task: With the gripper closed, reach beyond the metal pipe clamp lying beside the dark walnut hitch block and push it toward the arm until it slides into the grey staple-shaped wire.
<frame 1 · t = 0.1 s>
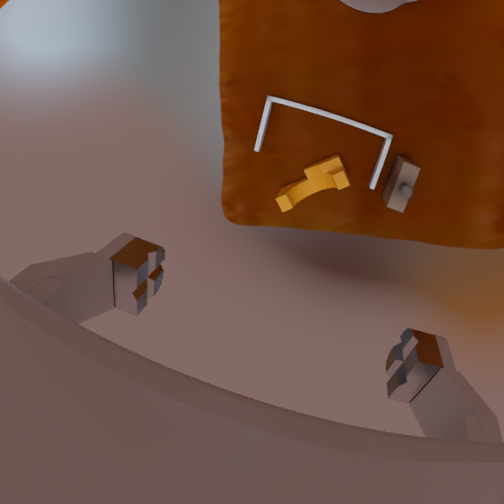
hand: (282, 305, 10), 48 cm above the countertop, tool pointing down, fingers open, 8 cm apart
pipe clamp: (312, 177, 55), on the countertop
grey staple-shaped wire: (323, 139, 51), on the countertop
hitch block: (397, 178, 51), on the countertop
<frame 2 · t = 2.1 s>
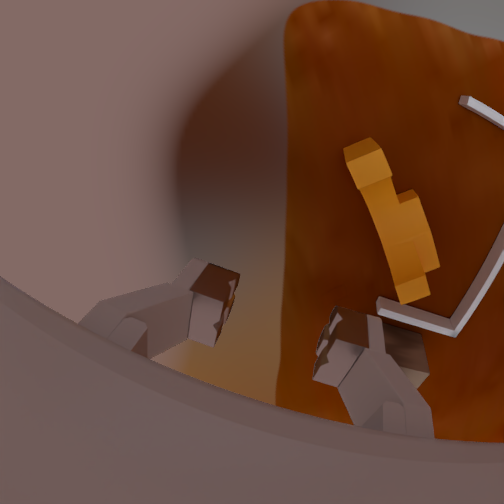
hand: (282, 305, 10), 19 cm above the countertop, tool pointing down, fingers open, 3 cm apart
pipe clamp: (391, 200, 26), on the countertop
grey staple-shaped wire: (464, 226, 25), on the countertop
hitch block: (385, 335, 32), on the countertop
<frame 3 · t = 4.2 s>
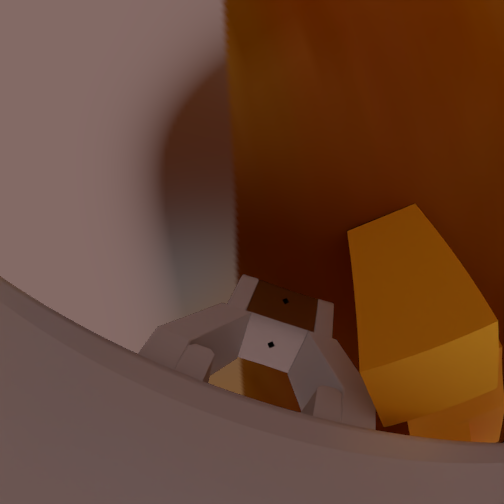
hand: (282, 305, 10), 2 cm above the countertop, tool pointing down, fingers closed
pipe clamp: (438, 332, 12), on the countertop, touching gripper
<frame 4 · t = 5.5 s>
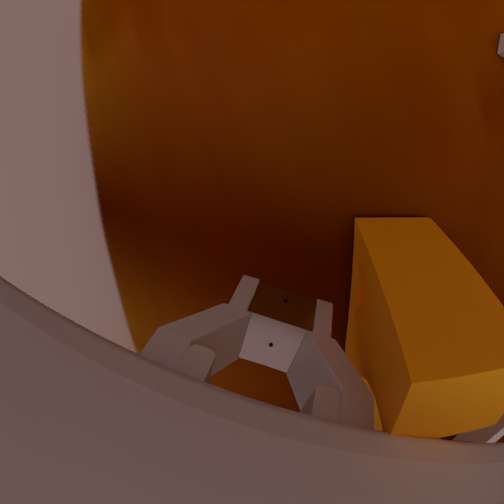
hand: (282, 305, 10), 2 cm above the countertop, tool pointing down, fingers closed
pipe clamp: (393, 351, 12), on the countertop, touching gripper
grey staple-shaped wire: (487, 337, 11), on the countertop
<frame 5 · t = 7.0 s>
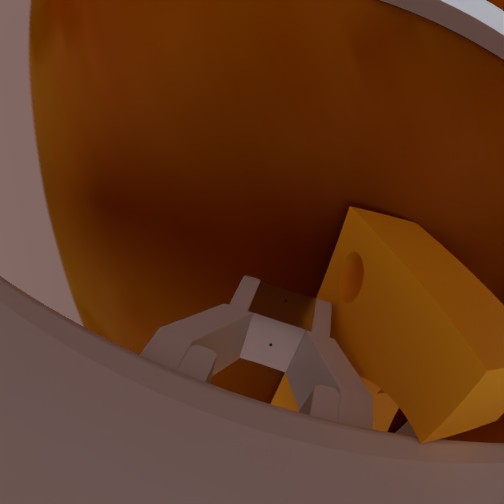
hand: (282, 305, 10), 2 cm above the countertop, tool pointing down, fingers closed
pipe clamp: (341, 352, 12), point 1 cm above the countertop, touching gripper
grey staple-shaped wire: (409, 309, 11), on the countertop
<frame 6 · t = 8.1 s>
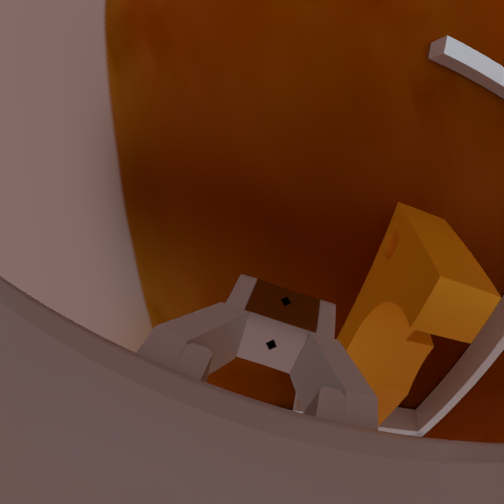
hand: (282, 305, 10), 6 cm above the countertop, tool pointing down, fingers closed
pipe clamp: (388, 312, 16), on the countertop
grey staple-shaped wire: (444, 288, 14), on the countertop
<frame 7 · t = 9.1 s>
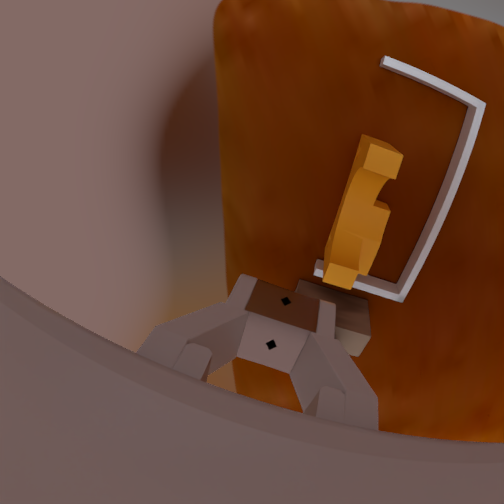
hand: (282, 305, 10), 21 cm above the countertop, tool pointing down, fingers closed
pipe clamp: (364, 199, 29), on the countertop
grey staple-shaped wire: (398, 185, 27), on the countertop
hitch block: (329, 300, 35), on the countertop
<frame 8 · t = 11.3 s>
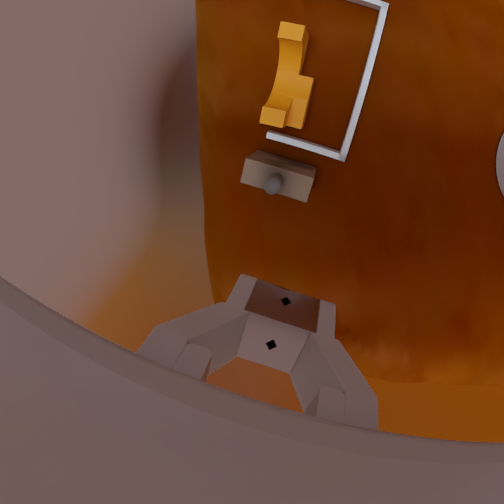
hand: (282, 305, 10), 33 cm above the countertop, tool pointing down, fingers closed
pipe clamp: (296, 78, 35), on the countertop
grey staple-shaped wire: (328, 67, 33), on the countertop
hitch block: (284, 168, 41), on the countertop
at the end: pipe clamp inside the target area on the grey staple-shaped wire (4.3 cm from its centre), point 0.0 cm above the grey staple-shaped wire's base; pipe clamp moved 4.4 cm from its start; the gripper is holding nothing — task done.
